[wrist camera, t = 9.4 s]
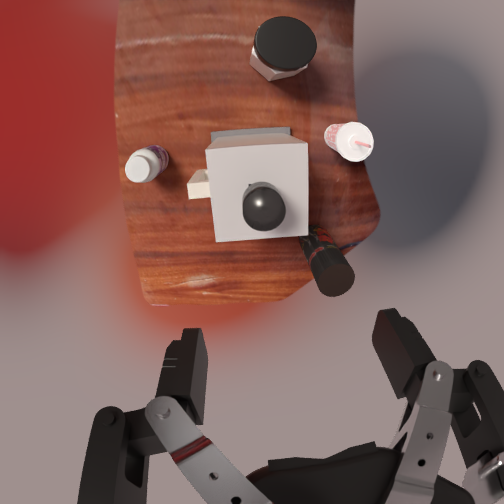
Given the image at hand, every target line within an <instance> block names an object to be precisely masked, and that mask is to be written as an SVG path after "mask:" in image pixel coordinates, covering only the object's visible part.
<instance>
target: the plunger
mask: <svg viewBox="0 0 504 504" xmlns="http://www.w3.org/2000/svg"><path fill="white" fill-rule="evenodd" d="M248 185H249V187H248V188H247V189H246V190H245V192H244V194H243V197H242V210H243V217H244V220H245V222H246V223H247V224H248V225H249V226H250V227H251V228H252V229H254V230H257V231H270V230H273V229H275V228H277V227H278V226H279V225H280V224H281V223H282V222H283V220H284V218H285V214H286V207H285V203H284V201H283V199H282V197H281V195H280V193H279V191H278V189H277V188H276V187H275V186H274V185H272V184H270V183H268V182H256V183H253V184H248Z"/></svg>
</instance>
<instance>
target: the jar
mask: <svg viewBox="0 0 504 504" xmlns="http://www.w3.org/2000/svg"><path fill="white" fill-rule="evenodd" d="M316 49H317V42H316V38H315V35H314V33H313V32H312V30H311V29H310V28H309V27H308V26H307V25H306V24H305V23H303V22H302V21H300V20H298V19H295V18H292V17H285V16H281V17H274V18H271V19H269V20H267V21H265V22H264V23H263V24H262V25H261V26H259V28H258V30H257V32H256V34H255V39H254V46H253V49H252V53H251V58H250V63H249V64H250V65H251V66H252V67H253V68H254V69H256V70H257V71H258V72H259V73H260V74H261V75H263V76H264V77H265V78H266V79H267V80H268V81H273V80H277V79H281V78H286V77H291V76H295V75H296V74H298V73H299V72H301V71H302V70H304V69H305V68H307V66H308V63H309V62H310V61H311V60H312V58H313V57H314V55H315V53H316Z"/></svg>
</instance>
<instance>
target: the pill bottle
mask: <svg viewBox="0 0 504 504" xmlns="http://www.w3.org/2000/svg"><path fill="white" fill-rule="evenodd" d="M168 161H169V158H168V154H167V152H166V150H165V149H164V148H163V147H161V146H158V145H151V146H148V147H145V148H143V149H140V150H137V151H136V152H134V153H133V154H132V155H131V157H130V158H129V160H128V162H127V163H126V166H125V172H126V175H127V177H128V178H129V179H130V180H131V181H133V182H149V181H151V180H153V179H154V178H155V177H156V176H158V175H159V174H160V173H162V172H163V171H164V170H165V169H166V167H167V165H168Z"/></svg>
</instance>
